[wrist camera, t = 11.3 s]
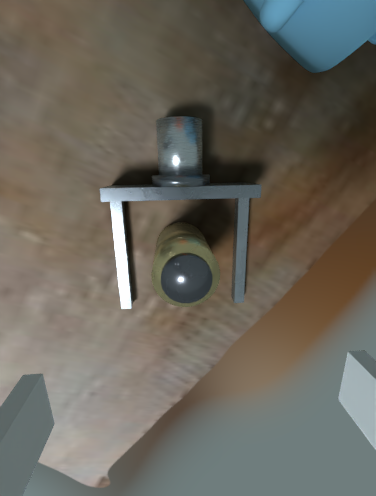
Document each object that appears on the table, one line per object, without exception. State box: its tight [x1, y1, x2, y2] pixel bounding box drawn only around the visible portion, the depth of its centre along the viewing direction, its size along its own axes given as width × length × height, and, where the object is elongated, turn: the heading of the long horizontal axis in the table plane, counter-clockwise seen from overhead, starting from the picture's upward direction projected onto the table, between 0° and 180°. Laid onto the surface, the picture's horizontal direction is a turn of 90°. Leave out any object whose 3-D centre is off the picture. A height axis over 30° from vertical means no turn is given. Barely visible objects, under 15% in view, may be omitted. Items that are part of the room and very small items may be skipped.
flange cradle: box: [100, 116, 261, 309], centre depth 27 cm, size 21×15×6 cm
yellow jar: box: [152, 222, 220, 307], centre depth 26 cm, size 6×6×10 cm
